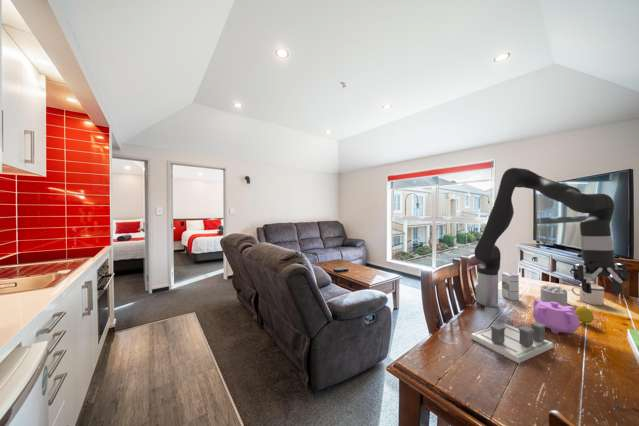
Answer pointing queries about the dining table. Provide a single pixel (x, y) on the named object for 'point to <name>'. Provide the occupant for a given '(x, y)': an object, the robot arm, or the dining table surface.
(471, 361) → the dining table surface
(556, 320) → the purple rounded body
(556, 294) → the lumpy-topped squat cylinder
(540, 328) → the handle
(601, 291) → the teacup with lid
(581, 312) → the lemon
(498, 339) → the grey upright block
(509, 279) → the syrup box
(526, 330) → the handle middle
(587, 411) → the dining table surface
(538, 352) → the panel
